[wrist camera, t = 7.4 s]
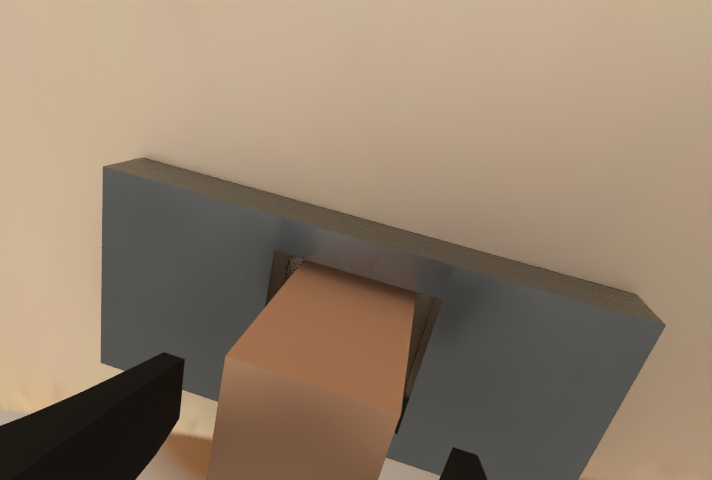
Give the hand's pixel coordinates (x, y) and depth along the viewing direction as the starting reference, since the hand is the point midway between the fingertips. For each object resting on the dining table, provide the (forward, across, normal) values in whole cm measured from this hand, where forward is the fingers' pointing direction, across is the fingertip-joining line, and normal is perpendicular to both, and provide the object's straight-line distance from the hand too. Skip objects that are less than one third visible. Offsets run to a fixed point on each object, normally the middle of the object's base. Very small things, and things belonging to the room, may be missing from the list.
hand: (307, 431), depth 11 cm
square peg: (+6, 0, 0) cm, 6 cm away
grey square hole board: (+6, 0, 0) cm, 6 cm away
